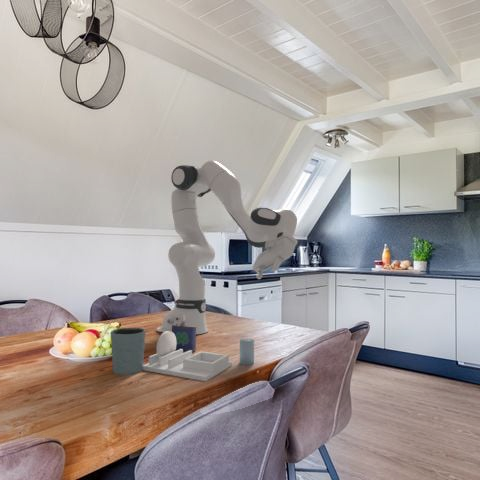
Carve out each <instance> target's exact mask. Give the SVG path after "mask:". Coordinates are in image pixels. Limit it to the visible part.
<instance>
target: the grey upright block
mask: <svg viewBox="0 0 480 480" xmlns="http://www.w3.org/2000/svg"><path fill="white" fill-rule="evenodd" d="M239 364H240V365H242V366H244V365H245V366H250V365H251V366H252V365H254V364H255V339H253V338H240V339H239Z"/></svg>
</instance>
